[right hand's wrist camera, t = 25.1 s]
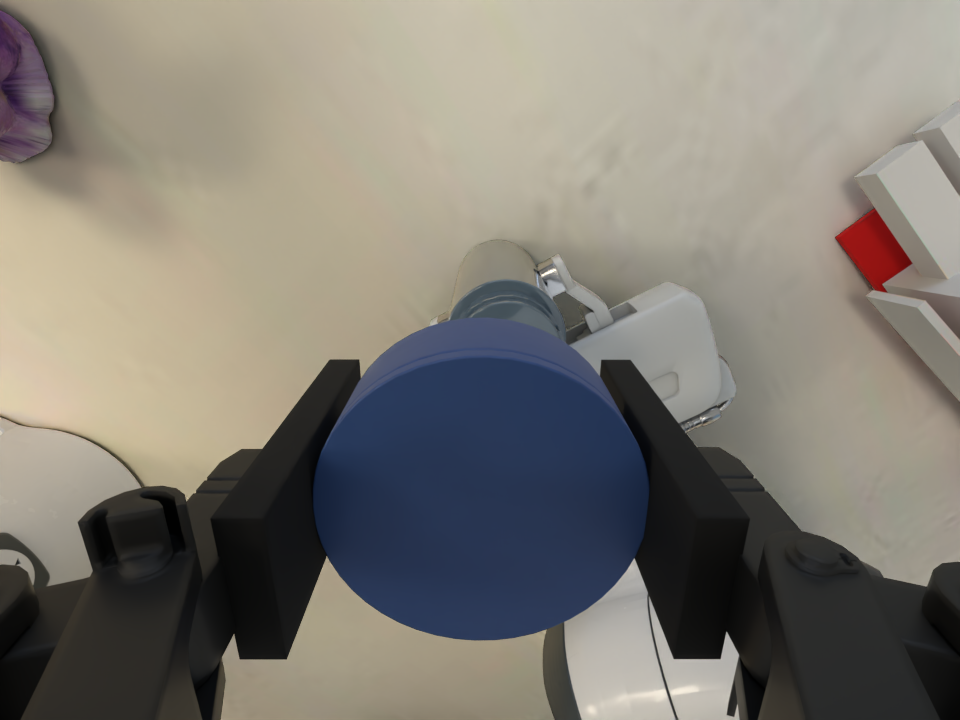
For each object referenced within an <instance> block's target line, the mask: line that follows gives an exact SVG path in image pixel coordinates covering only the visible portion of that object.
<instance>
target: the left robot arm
mask: <svg viewBox="0 0 960 720" xmlns="http://www.w3.org/2000/svg"><path fill="white" fill-rule="evenodd" d="M536 268H537V270H538V272H539V274H540V276H541V277H542V279H543V280H544V282H545V284H546V286H547V288H548V290H549V291H550V293H551V295H552V297H554V296H556V295H559V294H561V293H563V292H565V293H567V294H569V295H570V296H572V297H573V298H575V299H576V300H578V301H579V302H581V303H582V305H580V306H579V311H580V313H581V315H582V317H583V319H584V322H582V323H580V324H578V325H576V326H574V327H572V328H570V329H568V330H566V344H568V345H569V346H571V347H572V348H573V349H575V350H576V351H577V352H578V353H579V354H580V355H581V356H583V357H584V358H585V359H586V360H587V361H588V362H589V363H590V364H591V366H592V367H593V368H594V369H595V371H596V372H597V373H598V375H599V376H600V368H601V360H631V361H632V362H633V364H634V365H635V366H636V368H637V369H638V370H639V372H640V373H641V374H642V376H643V377H644V378H645V380H646V381H647V382H648V384H649V385H650V386H651V388H652V389H653V390H654V391H655V393H656V394H657V395H658V397H659V398H660V399H661V401H662V402H663V403H664V405H665V406H666V407H667V409H668V410H669V411H670V413H671V414H672V415H673V417H674V418H675V419H676V421H677V422H678V423H679V425H680V426H681V427H682V429H683V430H684V431H685V433H687V432H690V430H693V429H695V428H698V427H700V426H706V425H709V424H711V423H713V422H715V421H717V420H718V419H720V418H721V417H722V414H721V412H722V411H723V410H725V409H726V408H727V407H728V406H729V405H730V403H731V402H732V400H733V398H734V396H735V395H736V384H735V380H734V378H733V375H732V373H731V370H730V368H729V365H728V363H727V362H726V360H725V359H724V358H723V357H722V356H720V355H718V350H717V346H716V341H715V337H714V333H713V330H712V326H711V322H710V319H709V316H708V313H707V310H706V308H705V305H704V303H703V301H702V300H701V299H700V297H699V296H698V295H696V294H695V293H694V292H692V291H691V290H689V289H687V288H685V287H683V286H680V285H677V284H675V283H672V282H664V283H662V284H659V285H657V286H655V287H653V288H651V289H649V290H647V291H645V292H643V293H641V294H639V295H637V296H635V297H633V298H631V299H629V300H627V301H625V302H623V303H621V304H619V305H617V306H615V307H613V308H611V309H608V307H607V305H606V304H605V303H604V301H603V300H602V299H601V298H600V297H599V296H598V295H596V294H595V293H593V292H592V291H590V290H589V289H587V288H586V287H584V286H582V285H581V284H579V283H578V282H576V281H575V280H573V279H572V278H571V276H570V274H569V272H568V270H567V268H566V266H565V263H564V262H563V260H562V258H561V256H560V255H559V254H557V255H555V256H553V257H551V258H549V259H547V260H545V261H544V262H542V263H540V264H538V265H536ZM449 311H450V310H449ZM449 311H447V312H445V313H443V314H441V315H439V316H437V317H435V318H434V319H432V320H431V322H430V326H432V325H436V324H439V323H443V322H446V321H447V320H448V316H449ZM720 403H721V404H720ZM718 404H720V405H719V406H717V405H718ZM139 488H141V486H140V485H139V483H138V482H137V480H136V479H135V477H134V476H133V475H132V474H131V473H130V471H129V470H128V469H127V468H126V467H125V466H124V465H123V464H122V463H121V462H119V461H118V460H117V459H116V458H115V457H113V456H112V455H111V454H110V453H108V452H107V451H105V450H104V449H102V448H100V447H99V446H97V445H95V444H93V443H92V442H90V441H87V440H85V439H83V438H81V437H78V436H75V435H72V434H69V433H66V432H62V431H57V430H52V429H44V428H33V427H25V426H21V425H17V424H15V423H13V422H11V421H9V420H6V419H4V418H2V417H0V565H2V564H6V565H16V566H20V567H22V568H23V569H24V570H26V571H27V572H28V574H29V576H30V579H31V582H32V585H33V587H34V589H37V588H42V587H46V586H51V585H56V584H61V583H65V582H70V581H75V580H79V579H84V578H87V577H90V575H91V573H92V571H93V570H92V567H91V564H90V560H89V557H88V554H87V551H86V548H85V545H84V541H83V538H82V535H81V532H80V529H79V526H78V521H79V520H80V519H81V518H82V517H83V516H84V514H85V513H86V512H87V511H88V510H90V509H91V508H93V507H94V506H96V505H98V504H99V503H101V502H102V501H104V500H106V499H108V498H111V497H113V496H116V495H118V494H121V493H123V492H126V491H130V490H134V489H139ZM861 562H862V561H861ZM862 564H863V565H864V566H865V568H866V569H867V570H868V572H869V574H871V575H875V576H878V577H883V576H882V574H881V572H880V571H879V570H878V569H876V568H874V567H872V566H870V565H868V564H866V563H864V562H862ZM883 578H884V577H883ZM738 657H739V654H738V652H737V650H736V648H735V646H734V644H733V643H732V641H731V639H730V637H729V635H728V633H727V631H726V636H725V641H724V645H723V650H722V655H721V659H673V656H672V654H671V651H670V648H669V646H668V643H667V641H666V638H665V636H664V633H663V630H662V628H661V625H660V623H659V620H658V618H657V615H656V612H655V610H654V607H653V605H652V602H651V599H650V597H649V594H648V592H647V589H646V587H645V584H644V581H643V579H642V576H641V574H640V571H639V568H638V566H637V563H636V561H635V558H634V559H633V561H632V563H631V564H630V566H629V568H628V569H627V571H626V572H625V573H624V575H623V576H622V577H621V578H620V580H619V581H618V582H617V583H616V585H615V586H614V587H613V588H612V589H610V590H609V591H608V592H607V593H606V594H605V595H604V596H603V597H602V598H601V599H600V600H598V601H597V602H596V603H594V604H593V605H592V606H590V607H589V608H588V609H587V610H585V611H583V612H581V613H580V614H578V615H576V616H575V617H573V618H571V619H570V620H567V621H565V622H563V623H561V624H559V625H556V626H554V627H552V628H549V629H547V631H546V635H545V640H544V647H543V676H544V684H545V689H546V694H547V698H548V701H549V704H550V707H551V710H552V713H553V716H554V718H555V720H740V719H739V711H738V704H737V708H736V712H735V716H734V717H732V716H728V715H727V708H728V702H729V697H730V693H731V688H732V684H733V680H734V675H735V671H736V666H737V662H738Z"/></svg>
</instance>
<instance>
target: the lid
mask: <svg viewBox="0 0 960 720" xmlns="http://www.w3.org/2000/svg"><path fill="white" fill-rule="evenodd" d="M649 491H650V485H649V478H648V473H647V468H646V464H645V461H644V458H643V455H642V453H641V450H640V448H639V445H638V443H637V441H636V439H635V438H634V436H633V434H632V432H631V430H630V429H629V427H628V425H627V423H626V421H625V420H624V418H623V416H622V414H621V412H620V411H619V409H618V407H617V405H616V403H615V402H614V400H613V398H612V396H611V394H610V393H609V391H608V389H607V387H606V386H605V384H604V382H603V380H602V379H601V377H600V376H599V375H598V373H597V372H596V371H595V369H594V368H593V367H592V366H591V364H590V363H589V362H588V361H587V360H586V359H585V358H584V357H583V356H581V355H580V354H579V353H578V352H577V351H576V350H575V349H573V348H572V347H571V346H569V345H568V344H566V343H565V342H564V341H562V340H561V339H559V338H557V337H555V336H553V335H551V334H549V333H548V332H546V331H543V330H541V329H538V328H535V327H533V326H530V325H527V324H524V323H519V322H515V321H511V320H506V319H496V318H465V319H458V320H451V321H446V322H443V323H439V324H436V325H432V326H429V327H427V328H424V329H422V330H420V331H417V332H415V333H413V334H411V335H409V336H407V337H406V338H404V339H402V340H401V341H399V342H397V343H396V344H394V345H393V346H392V347H390V348H389V349H388V350H387V351H385V352H384V353H383V354H382V355H380V357H379V358H378V359H377V360H376V361H375V362H374V363H373V364H372V365H371V366H370V367H369V368H368V370H367V371H366V372H365V374H364V375H363V377H362V378H361V379H360V381H359V382H358V384H357V386H356V388H355V389H354V391H353V393H352V395H351V397H350V399H349V400H348V402H347V404H346V406H345V408H344V409H343V411H342V413H341V415H340V417H339V419H338V420H337V422H336V424H335V426H334V428H333V430H332V431H331V433H330V435H329V437H328V439H327V441H326V443H325V445H324V447H323V449H322V451H321V454H320V457H319V460H318V464H317V467H316V470H315V476H314V483H313V511H314V518H315V525H316V529H317V532H318V535H319V538H320V541H321V544H322V546H323V548H324V550H325V552H326V554H327V557H328V559H329V561H330V562H331V564H332V565H333V567H334V568H335V570H336V571H337V573H338V574H339V576H340V577H341V578H342V579H343V580H344V581H345V582H346V584H347V585H348V586H349V587H350V588H351V589H352V590H353V591H354V592H355V593H356V594H357V595H358V596H360V597H361V598H362V599H363V600H364V601H365V602H366V603H368V604H369V605H371V606H372V607H374V608H375V609H376V610H378V611H379V612H381V613H382V614H384V615H386V616H388V617H390V618H392V619H393V620H395V621H397V622H399V623H401V624H404V625H406V626H409V627H411V628H414V629H416V630H419V631H423V632H426V633H430V634H433V635H437V636H443V637H448V638H453V639H464V640H500V639H508V638H516V637H520V636H525V635H529V634H534V633H537V632H540V631H543V630H546V629H549V628H552V627H554V626H556V625H559V624H561V623H563V622H565V621H567V620H570V619H571V618H573V617H575V616H576V615H578V614H580V613H581V612H583V611H585V610H587V609H588V608H589V607H590V606H592V605H593V604H594V603H596V602H597V601H598V600H600V599H601V598H602V597H603V596H604V595H605V594H606V593H607V592H608V591H609V590H610V589H612V588H613V587H614V586H615V585H616V583H617V582H618V581H619V580H620V578H621V577H622V576H623V575H624V573H625V572H626V571H627V569H628V568H629V566H630V564H631V563H632V561H633V559H634V558H635V556H636V554H637V552H638V550H639V547H640V545H641V543H642V540H643V537H644V531H645V524H646V516H647V508H648V501H649Z"/></svg>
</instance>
